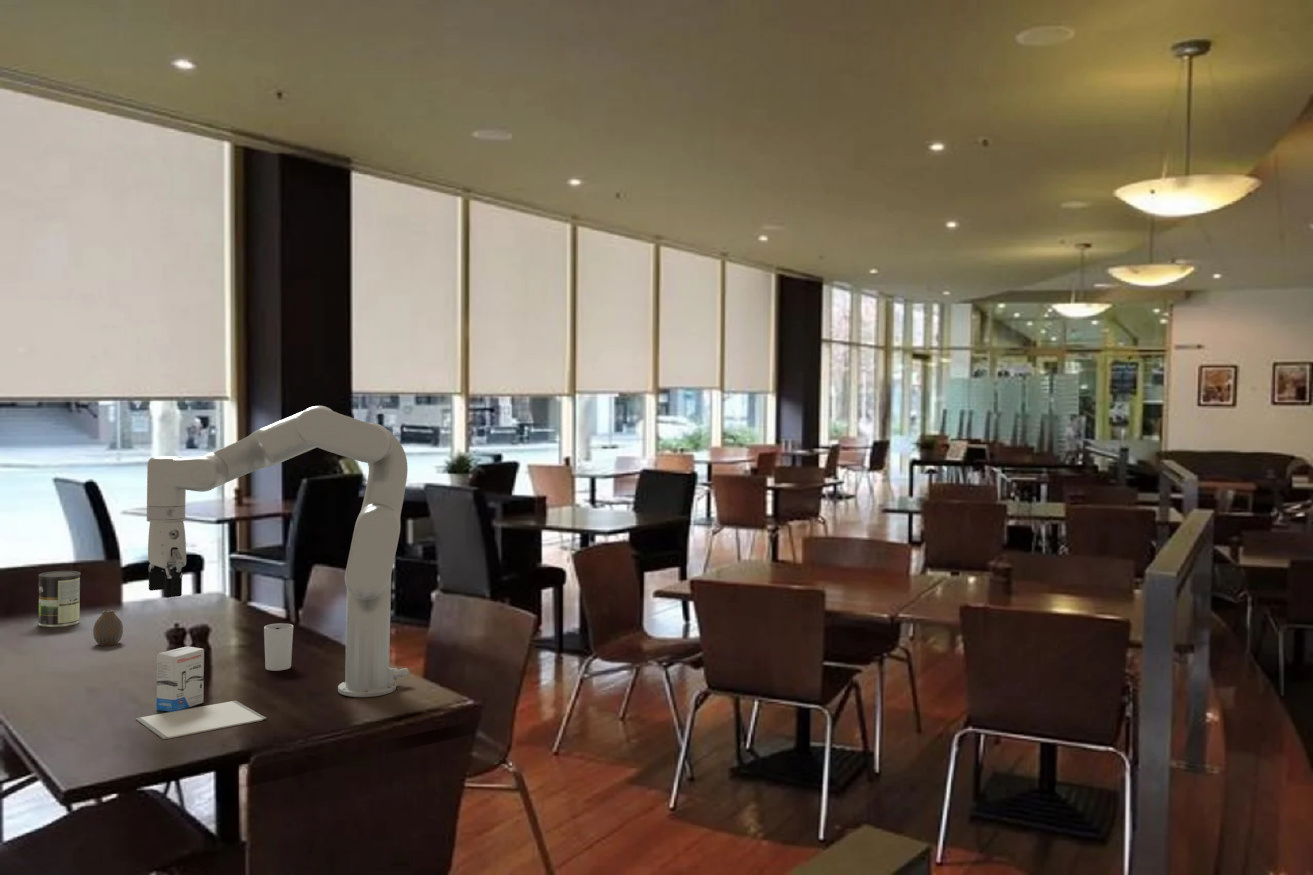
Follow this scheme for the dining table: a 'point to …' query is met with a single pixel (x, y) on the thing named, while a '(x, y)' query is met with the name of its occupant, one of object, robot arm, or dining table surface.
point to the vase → (108, 629)
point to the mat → (200, 719)
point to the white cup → (278, 646)
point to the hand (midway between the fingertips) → (164, 593)
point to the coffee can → (59, 598)
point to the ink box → (180, 678)
